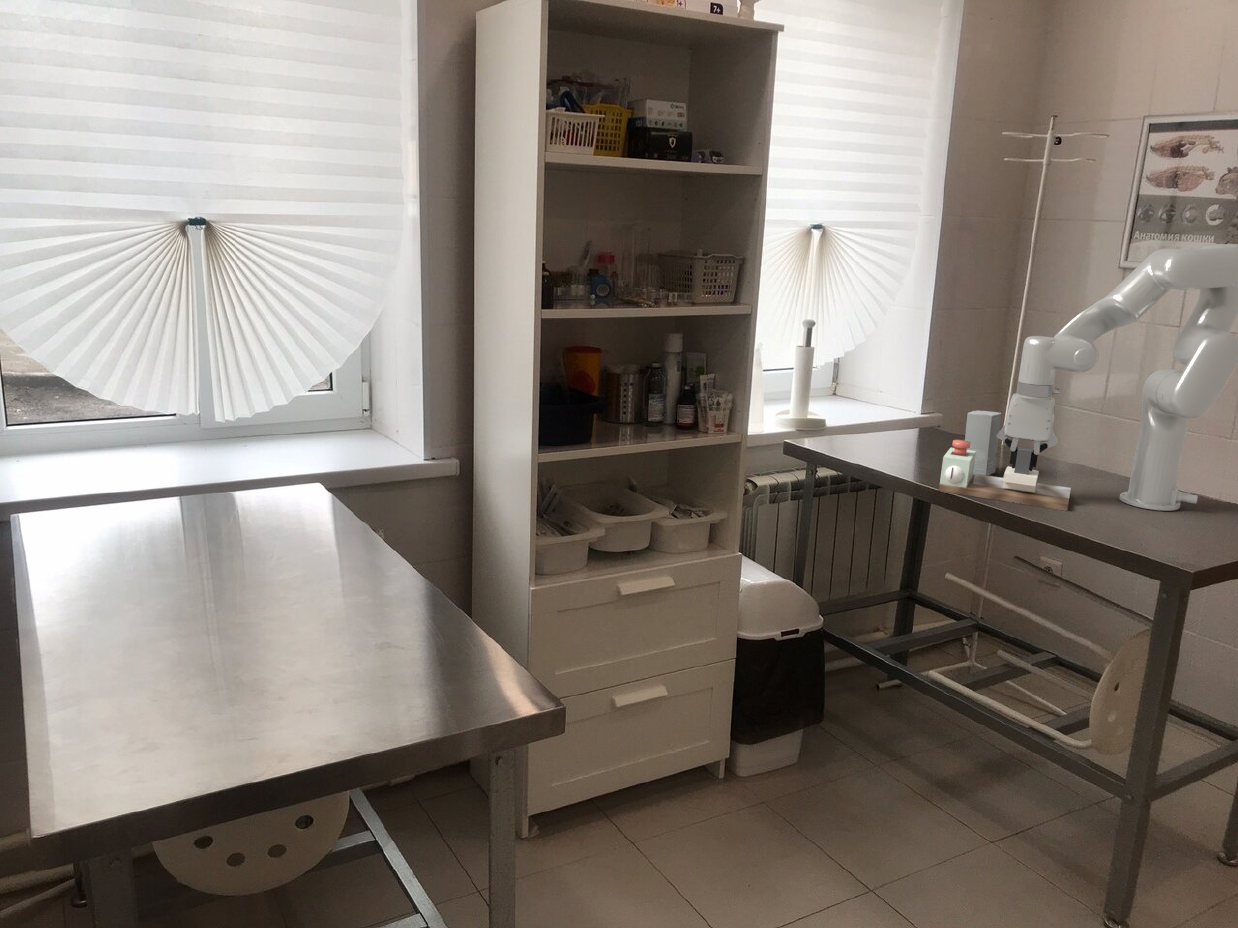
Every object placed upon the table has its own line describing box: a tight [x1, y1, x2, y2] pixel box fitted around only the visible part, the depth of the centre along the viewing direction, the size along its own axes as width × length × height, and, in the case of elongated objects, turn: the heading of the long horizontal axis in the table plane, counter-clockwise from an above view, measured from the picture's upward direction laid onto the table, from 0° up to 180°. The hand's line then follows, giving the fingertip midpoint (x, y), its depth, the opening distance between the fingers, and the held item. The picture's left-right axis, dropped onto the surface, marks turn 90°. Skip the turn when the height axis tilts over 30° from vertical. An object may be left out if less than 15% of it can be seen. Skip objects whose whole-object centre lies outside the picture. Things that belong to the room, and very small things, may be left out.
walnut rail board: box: [937, 474, 1072, 512], centre depth 233 cm, size 28×14×4 cm, turn 64°
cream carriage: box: [1002, 445, 1040, 493], centre depth 231 cm, size 7×8×9 cm
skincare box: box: [964, 409, 1003, 476], centre depth 251 cm, size 8×7×16 cm
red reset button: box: [952, 439, 970, 456], centre depth 236 cm, size 4×4×3 cm
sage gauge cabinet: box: [939, 447, 976, 488], centre depth 237 cm, size 6×12×6 cm, turn 154°
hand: (1022, 467), depth 231 cm, fingers closed on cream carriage, 3 cm apart
